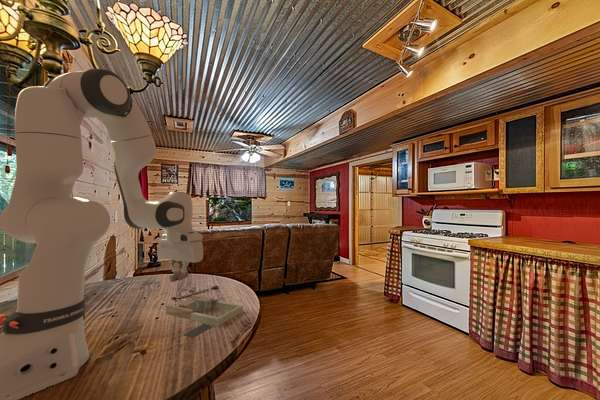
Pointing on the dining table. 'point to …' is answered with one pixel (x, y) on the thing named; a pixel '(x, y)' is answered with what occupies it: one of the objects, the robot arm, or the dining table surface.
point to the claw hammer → (193, 293)
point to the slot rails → (184, 311)
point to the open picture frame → (217, 321)
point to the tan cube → (188, 304)
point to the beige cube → (204, 303)
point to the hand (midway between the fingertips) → (179, 272)
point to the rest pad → (198, 330)
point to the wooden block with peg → (178, 272)
